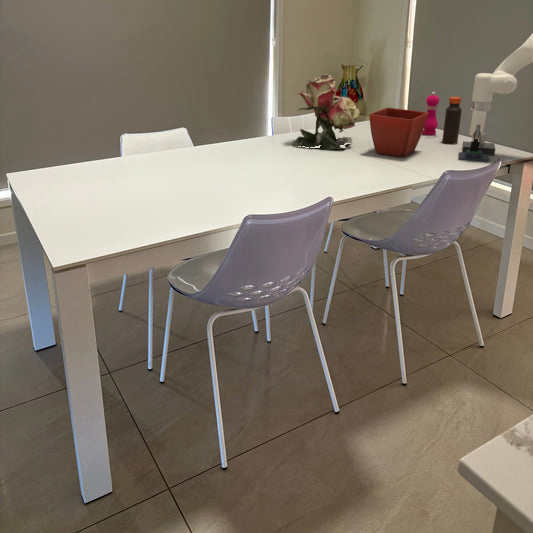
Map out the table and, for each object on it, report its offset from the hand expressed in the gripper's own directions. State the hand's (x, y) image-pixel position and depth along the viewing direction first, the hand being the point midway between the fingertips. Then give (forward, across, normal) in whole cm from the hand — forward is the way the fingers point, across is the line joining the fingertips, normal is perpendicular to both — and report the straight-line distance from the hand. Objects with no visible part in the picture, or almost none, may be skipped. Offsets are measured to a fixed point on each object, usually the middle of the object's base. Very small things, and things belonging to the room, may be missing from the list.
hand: (474, 150), depth 243 cm
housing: (+3, 0, 0) cm, 3 cm away
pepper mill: (+3, -41, -20) cm, 46 cm away
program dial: (0, -12, +2) cm, 12 cm away
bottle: (+3, -26, -10) cm, 28 cm away
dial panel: (+3, -12, +2) cm, 13 cm away
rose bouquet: (+4, -10, -64) cm, 65 cm away
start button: (+2, 0, 0) cm, 2 cm away
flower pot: (+4, -1, -32) cm, 32 cm away
